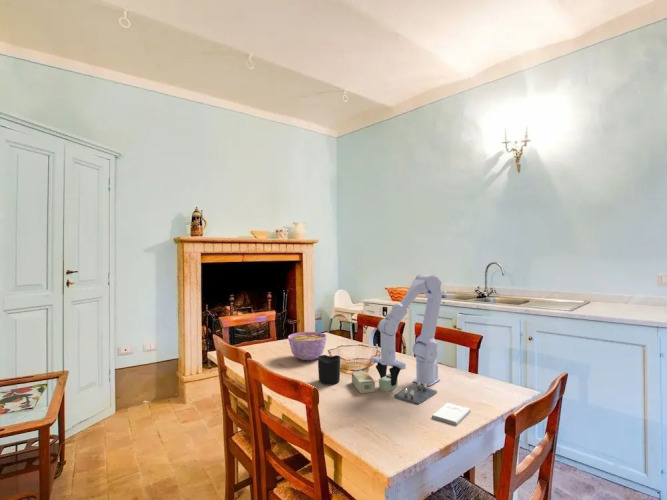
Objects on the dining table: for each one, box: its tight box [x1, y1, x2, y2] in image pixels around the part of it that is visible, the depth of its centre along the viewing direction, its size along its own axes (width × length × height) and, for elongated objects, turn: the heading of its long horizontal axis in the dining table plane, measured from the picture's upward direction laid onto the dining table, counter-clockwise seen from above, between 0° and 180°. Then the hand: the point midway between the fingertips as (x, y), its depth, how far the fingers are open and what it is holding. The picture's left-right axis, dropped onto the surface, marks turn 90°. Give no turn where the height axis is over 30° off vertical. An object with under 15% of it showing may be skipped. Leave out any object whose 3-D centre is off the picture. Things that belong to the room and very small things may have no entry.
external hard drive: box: [431, 402, 471, 426], centre depth 118 cm, size 2×8×12 cm
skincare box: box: [351, 370, 376, 394], centre depth 143 cm, size 6×4×12 cm
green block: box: [378, 373, 399, 392], centre depth 142 cm, size 7×4×5 cm, turn 138°
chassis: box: [393, 381, 438, 405], centre depth 134 cm, size 14×10×3 cm
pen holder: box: [317, 354, 341, 386], centre depth 151 cm, size 9×9×10 cm
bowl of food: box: [287, 331, 328, 361], centre depth 184 cm, size 20×20×12 cm
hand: (388, 383), depth 143 cm, fingers closed on green block, 4 cm apart
